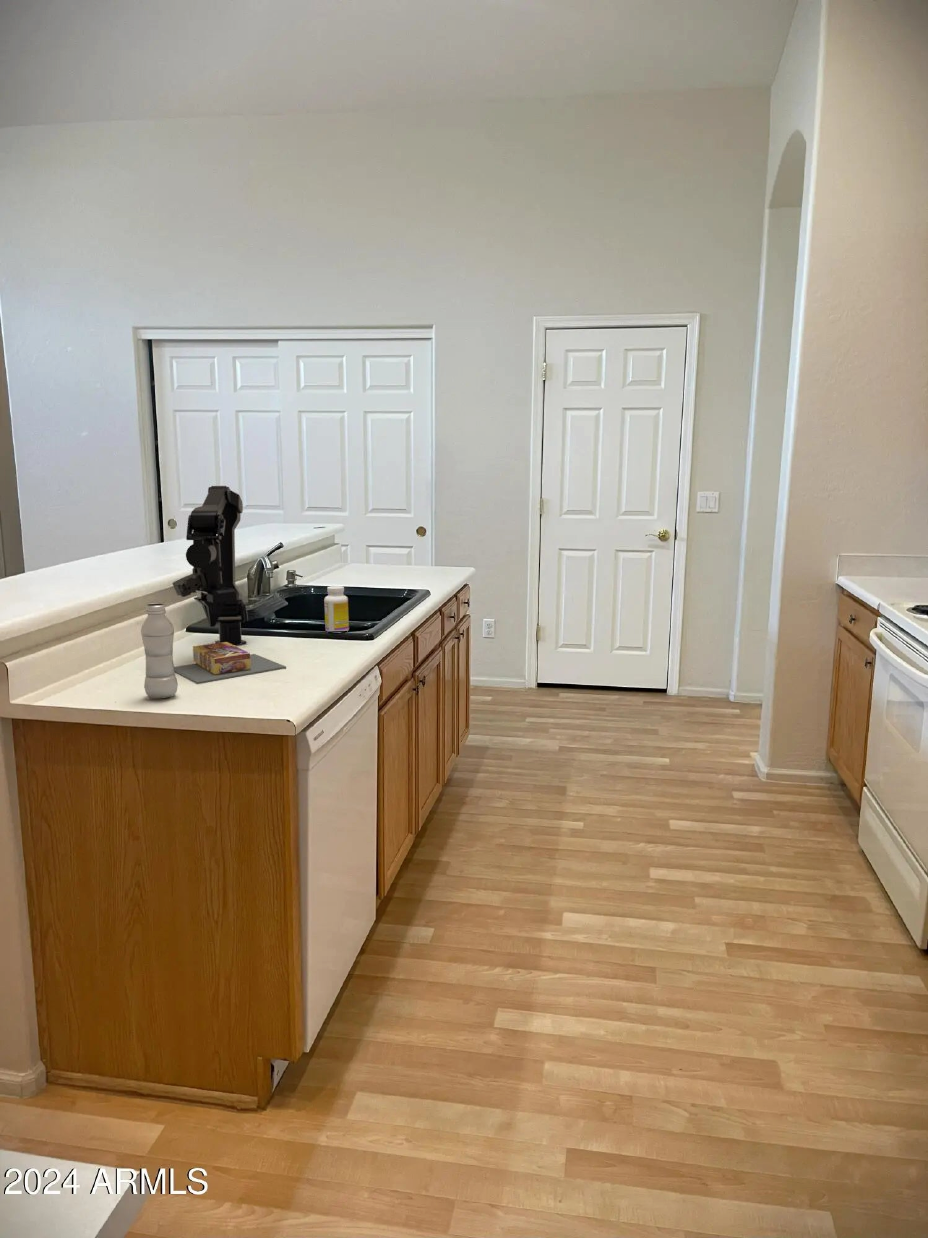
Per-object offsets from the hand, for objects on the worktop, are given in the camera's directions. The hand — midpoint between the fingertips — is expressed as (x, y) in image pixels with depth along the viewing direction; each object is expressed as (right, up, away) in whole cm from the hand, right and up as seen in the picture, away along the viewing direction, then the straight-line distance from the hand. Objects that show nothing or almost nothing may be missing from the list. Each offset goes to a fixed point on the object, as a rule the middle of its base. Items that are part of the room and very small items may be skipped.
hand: (212, 626), depth 214 cm
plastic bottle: (-3, -15, -27) cm, 31 cm away
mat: (+5, -10, -4) cm, 12 cm away
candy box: (-1, -6, +3) cm, 7 cm away
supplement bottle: (+25, -2, +37) cm, 45 cm away
